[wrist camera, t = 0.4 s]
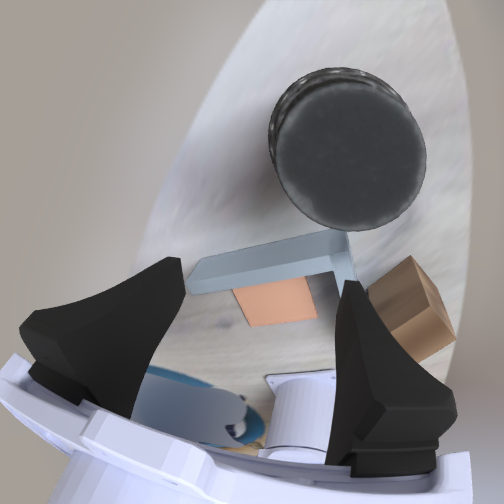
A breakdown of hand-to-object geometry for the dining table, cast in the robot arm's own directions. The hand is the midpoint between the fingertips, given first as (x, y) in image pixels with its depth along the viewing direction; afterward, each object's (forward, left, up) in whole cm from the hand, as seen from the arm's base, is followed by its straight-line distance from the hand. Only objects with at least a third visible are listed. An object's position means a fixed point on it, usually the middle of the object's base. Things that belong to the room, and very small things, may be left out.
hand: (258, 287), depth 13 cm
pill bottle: (+5, -5, -10) cm, 12 cm away
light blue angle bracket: (-7, +3, -10) cm, 12 cm away
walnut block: (-9, -7, -10) cm, 15 cm away
